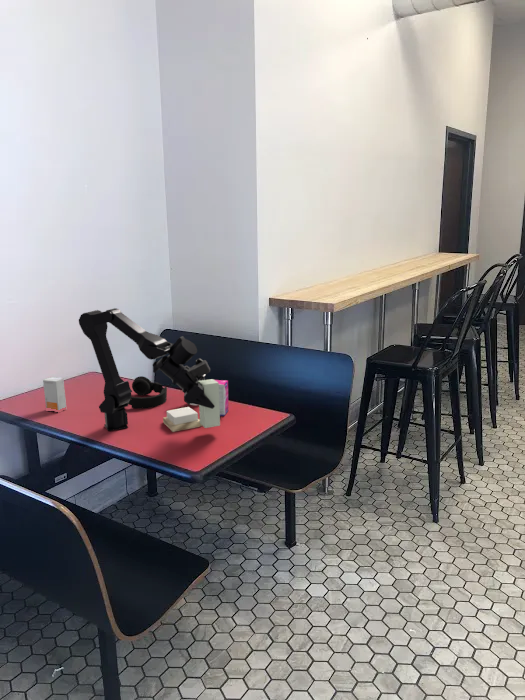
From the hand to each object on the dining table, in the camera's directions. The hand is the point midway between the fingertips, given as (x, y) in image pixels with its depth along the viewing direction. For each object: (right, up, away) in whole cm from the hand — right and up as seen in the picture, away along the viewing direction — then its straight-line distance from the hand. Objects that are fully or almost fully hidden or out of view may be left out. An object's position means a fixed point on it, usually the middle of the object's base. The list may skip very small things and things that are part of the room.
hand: (213, 404), depth 184 cm
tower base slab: (-11, -8, +11) cm, 18 cm away
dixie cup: (-9, -3, +33) cm, 35 cm away
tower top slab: (-11, -6, +11) cm, 17 cm away
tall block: (-1, -7, +1) cm, 7 cm away
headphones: (-30, -3, +38) cm, 49 cm away
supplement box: (0, -5, +21) cm, 22 cm away
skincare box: (-60, -5, +29) cm, 67 cm away
